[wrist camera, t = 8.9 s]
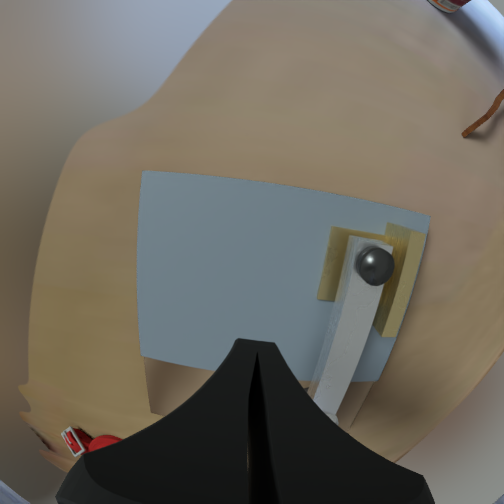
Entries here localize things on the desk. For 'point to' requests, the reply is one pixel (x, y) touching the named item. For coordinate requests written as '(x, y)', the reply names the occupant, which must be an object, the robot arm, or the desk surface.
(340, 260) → the brass keeper
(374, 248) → the bar
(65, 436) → the tracker holder
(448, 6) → the pill bottle
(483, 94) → the desk surface
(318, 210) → the door panel
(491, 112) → the glasses
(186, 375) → the jamb board
